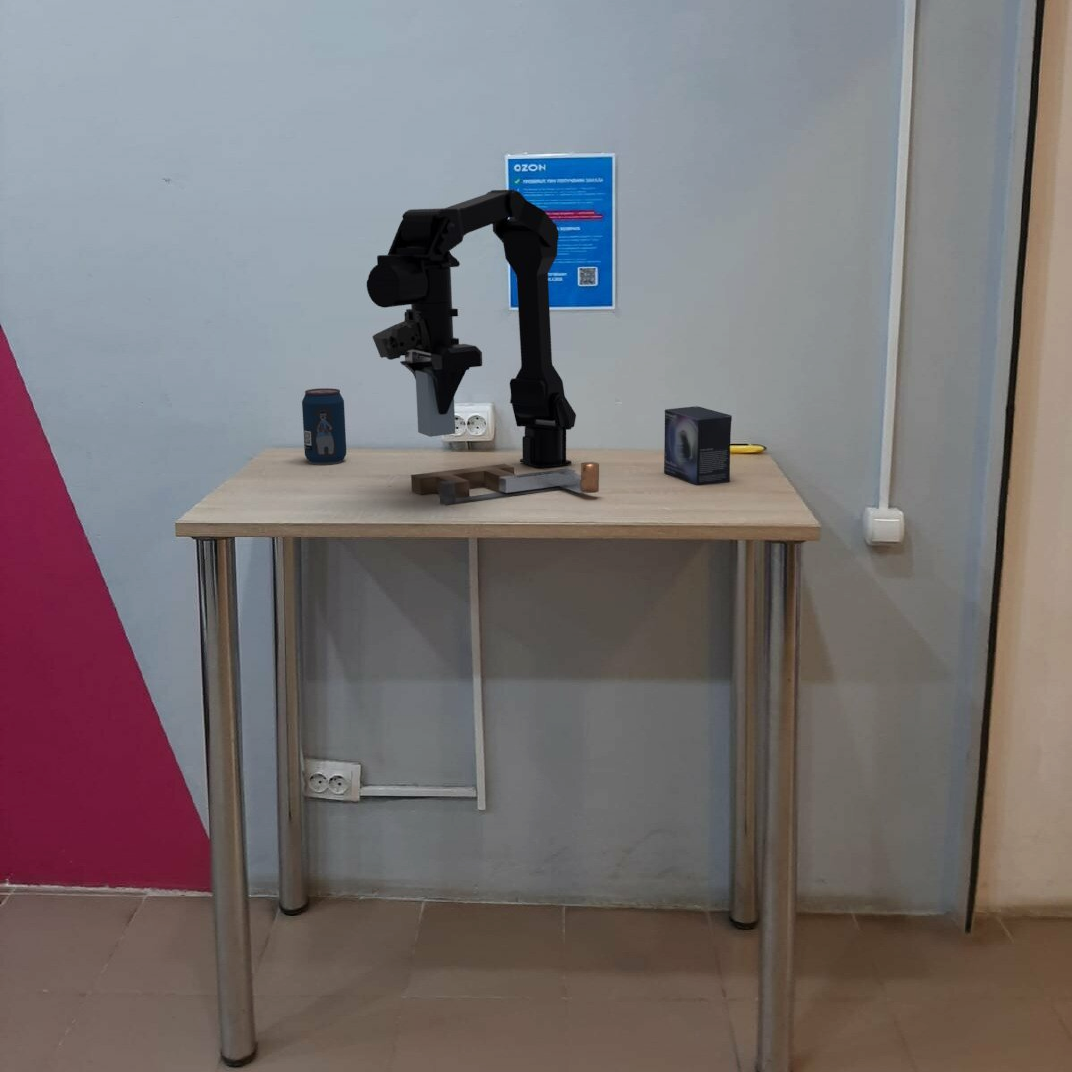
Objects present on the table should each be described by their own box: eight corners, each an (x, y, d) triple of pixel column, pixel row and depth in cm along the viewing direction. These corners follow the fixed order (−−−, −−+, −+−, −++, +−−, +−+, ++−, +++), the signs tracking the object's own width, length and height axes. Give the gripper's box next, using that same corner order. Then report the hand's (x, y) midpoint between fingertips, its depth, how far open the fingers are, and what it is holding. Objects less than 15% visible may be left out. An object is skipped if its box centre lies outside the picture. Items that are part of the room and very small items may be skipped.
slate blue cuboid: (442, 429, 172) (440, 368, 169) (455, 433, 168) (452, 370, 166) (418, 432, 170) (415, 370, 167) (430, 436, 166) (427, 373, 164)
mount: (540, 474, 186) (540, 456, 185) (577, 487, 177) (577, 467, 176) (411, 491, 175) (410, 471, 174) (444, 505, 166) (444, 484, 165)
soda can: (332, 456, 202) (328, 386, 199) (354, 461, 198) (351, 390, 194) (297, 461, 198) (293, 390, 195) (319, 467, 193) (315, 394, 190)
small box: (660, 473, 187) (662, 408, 184) (696, 470, 189) (697, 405, 187) (694, 486, 178) (696, 417, 175) (731, 482, 180) (734, 414, 177)
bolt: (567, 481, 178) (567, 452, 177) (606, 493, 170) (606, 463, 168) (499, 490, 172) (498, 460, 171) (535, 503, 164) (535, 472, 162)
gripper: (352, 301, 168) (358, 409, 172) (407, 309, 152) (412, 428, 157) (422, 296, 173) (427, 401, 178) (482, 304, 158) (485, 419, 162)
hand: (436, 412), depth 168 cm, fingers closed on slate blue cuboid, 4 cm apart
